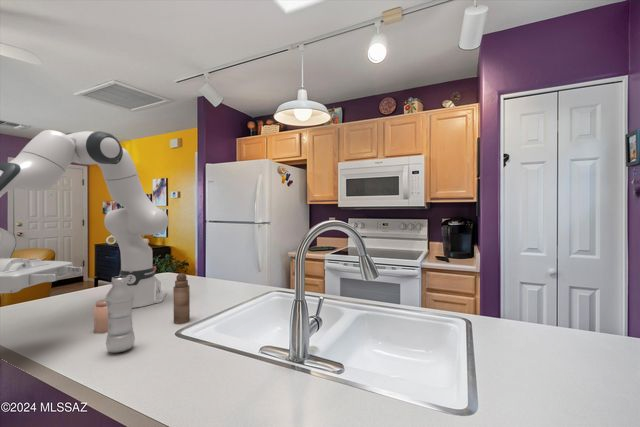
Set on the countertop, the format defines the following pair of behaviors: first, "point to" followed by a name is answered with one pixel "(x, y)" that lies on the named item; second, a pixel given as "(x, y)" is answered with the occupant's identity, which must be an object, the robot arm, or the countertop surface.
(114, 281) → the plastic bottle
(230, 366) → the countertop surface
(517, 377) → the countertop surface
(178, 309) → the pepper mill
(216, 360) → the countertop surface
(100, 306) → the salt jar
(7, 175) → the robot arm
